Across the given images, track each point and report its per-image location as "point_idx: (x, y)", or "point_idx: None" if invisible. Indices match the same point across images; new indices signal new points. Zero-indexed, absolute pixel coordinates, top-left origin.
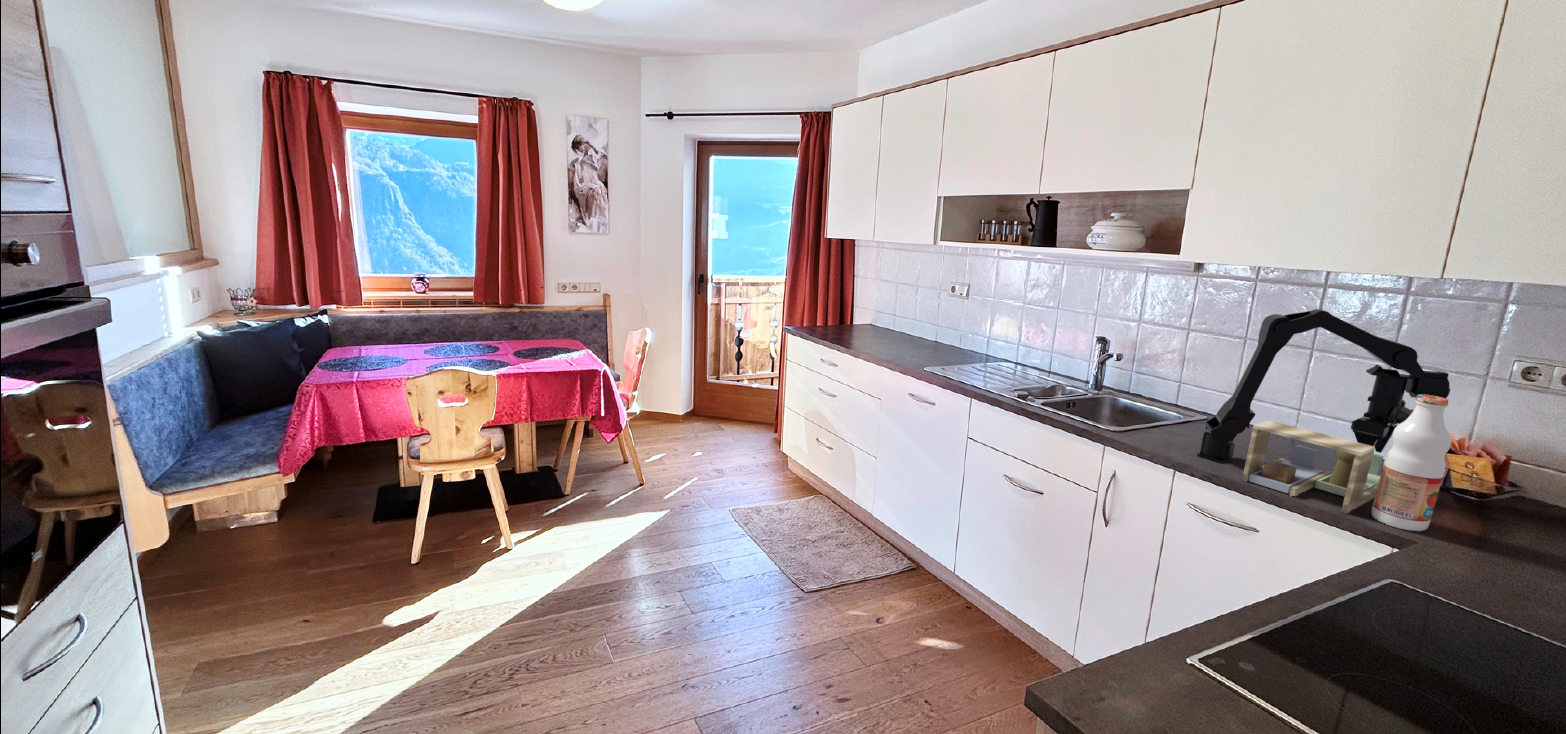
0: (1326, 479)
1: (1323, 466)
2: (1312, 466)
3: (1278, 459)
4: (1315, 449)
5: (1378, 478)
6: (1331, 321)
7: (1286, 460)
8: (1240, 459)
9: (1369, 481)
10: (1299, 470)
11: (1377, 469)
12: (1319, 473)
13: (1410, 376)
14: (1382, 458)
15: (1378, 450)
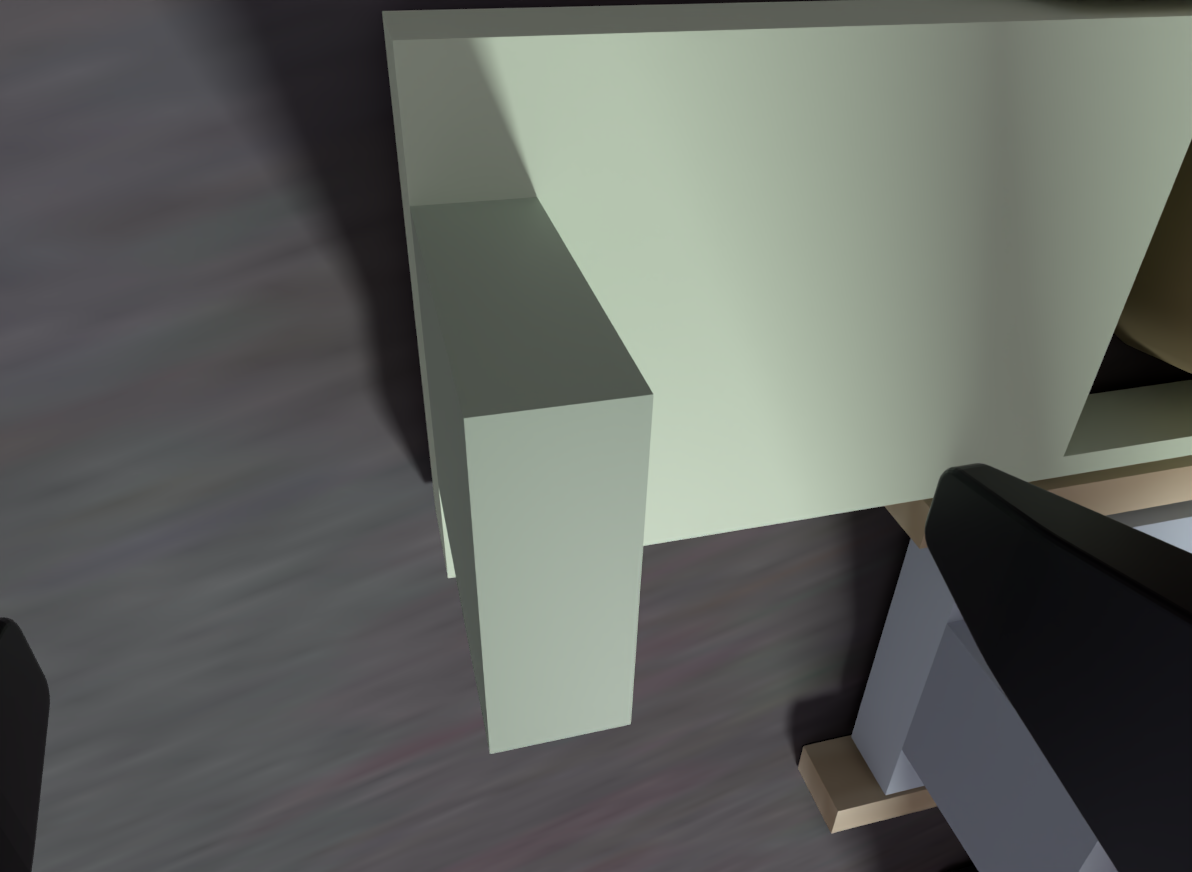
0: (1187, 419)
1: (407, 689)
2: None
3: (899, 812)
4: (1096, 846)
5: (689, 111)
6: None
7: (887, 789)
8: (896, 864)
9: (1007, 125)
10: None
11: (561, 253)
12: None
13: None
14: (487, 379)
15: (28, 689)
